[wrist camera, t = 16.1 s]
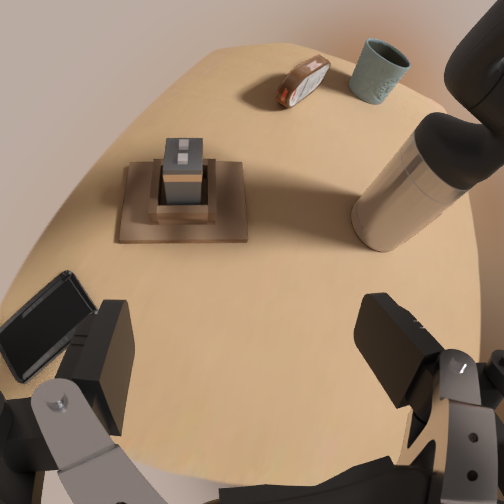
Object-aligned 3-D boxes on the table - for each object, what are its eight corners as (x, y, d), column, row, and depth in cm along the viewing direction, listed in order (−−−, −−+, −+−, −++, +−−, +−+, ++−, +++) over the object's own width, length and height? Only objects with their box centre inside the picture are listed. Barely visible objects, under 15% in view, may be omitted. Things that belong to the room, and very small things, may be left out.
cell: (200, 183, 41) (203, 134, 32) (200, 213, 39) (202, 167, 30) (170, 183, 40) (165, 134, 31) (168, 213, 38) (161, 167, 29)
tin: (310, 79, 56) (323, 48, 48) (323, 87, 56) (337, 56, 48) (269, 108, 50) (280, 71, 42) (284, 117, 50) (297, 80, 42)
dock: (241, 166, 44) (245, 148, 40) (246, 242, 40) (252, 228, 36) (130, 166, 41) (126, 148, 37) (120, 243, 37) (113, 229, 33)
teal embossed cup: (343, 73, 60) (362, 33, 49) (382, 86, 61) (403, 49, 50) (348, 99, 56) (371, 55, 45) (391, 113, 57) (417, 74, 46)
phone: (101, 316, 32) (19, 386, 27) (104, 318, 33) (24, 386, 28) (68, 266, 34) (-8, 334, 28) (71, 269, 35) (-4, 336, 29)
